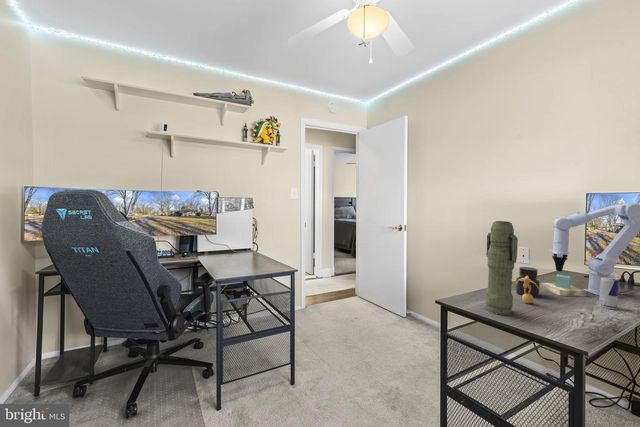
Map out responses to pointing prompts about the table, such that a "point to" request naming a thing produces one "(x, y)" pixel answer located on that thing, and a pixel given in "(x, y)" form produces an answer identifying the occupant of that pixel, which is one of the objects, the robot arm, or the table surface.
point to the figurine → (526, 297)
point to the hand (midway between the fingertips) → (559, 269)
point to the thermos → (500, 267)
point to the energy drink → (609, 292)
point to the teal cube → (562, 281)
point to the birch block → (563, 290)
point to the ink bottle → (532, 276)
